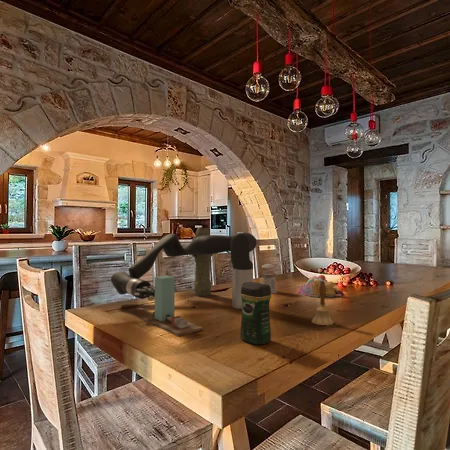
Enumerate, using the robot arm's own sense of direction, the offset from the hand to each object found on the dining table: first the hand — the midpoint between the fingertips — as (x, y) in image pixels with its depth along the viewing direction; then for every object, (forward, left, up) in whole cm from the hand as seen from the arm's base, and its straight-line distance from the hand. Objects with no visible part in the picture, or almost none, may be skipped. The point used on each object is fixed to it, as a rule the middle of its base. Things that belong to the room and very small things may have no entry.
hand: (160, 295), depth 124 cm
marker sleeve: (-2, +1, -8) cm, 9 cm away
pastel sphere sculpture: (-64, -66, -10) cm, 93 cm away
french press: (-37, -62, -10) cm, 73 cm away
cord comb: (-6, +4, -10) cm, 12 cm away
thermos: (-4, -47, -10) cm, 48 cm away
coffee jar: (-38, +13, -10) cm, 41 cm away
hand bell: (-61, -11, -10) cm, 63 cm away
